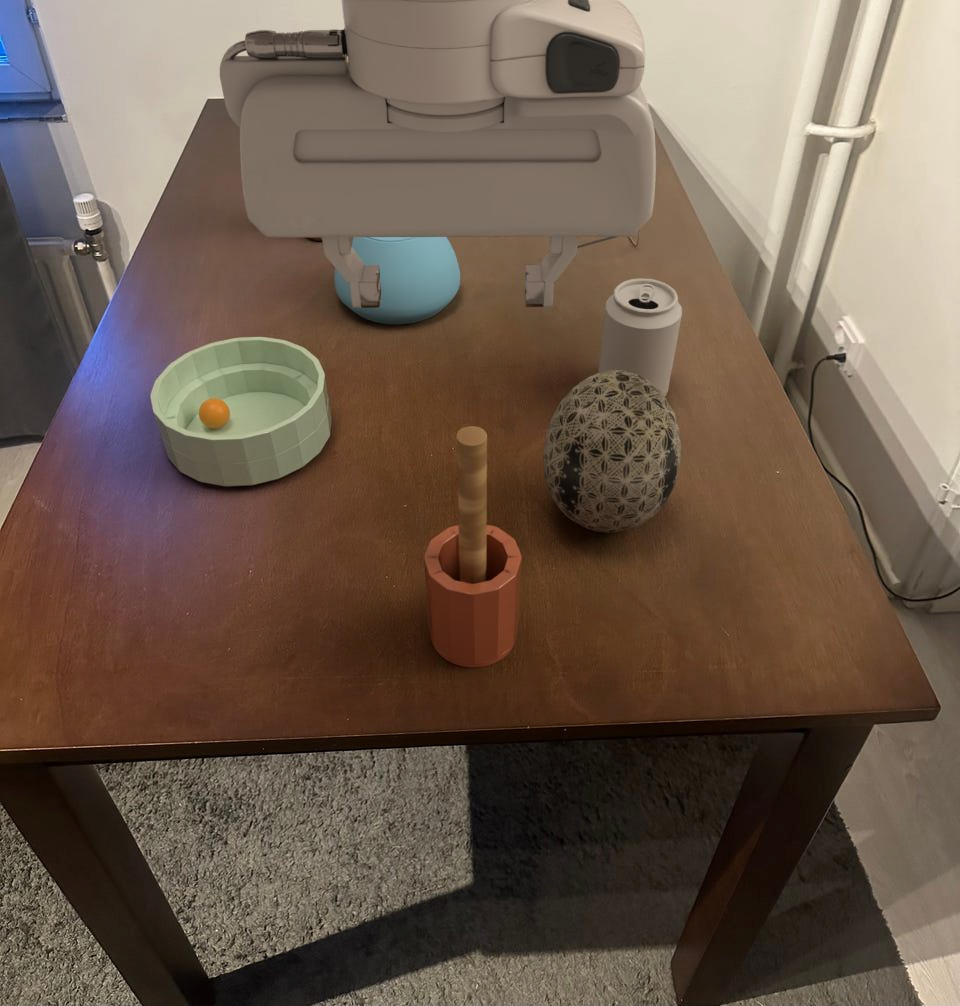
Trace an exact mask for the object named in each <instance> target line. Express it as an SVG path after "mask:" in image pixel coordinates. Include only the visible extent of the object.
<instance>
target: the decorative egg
mask: <svg viewBox="0 0 960 1006" xmlns="http://www.w3.org/2000/svg"><path fill="white" fill-rule="evenodd" d="M681 441H682V440H681V433H680V427H679V423H678V419H677V416H676V413H675V411H674V409H673V407H672V405H671V403H670V402H669V400H668V399H667V397H666V396H664V395H663V394H662V392H661V391H660V390H659V389H658V388H657V387H656V386H655V385H654V384H652V383H651V382H650V381H648V380H647V379H645V378H644V377H642V376H640V375H638V374H636V373H633V372H630V371H624V370H610V371H604V372H600V373H598V372H597V373H595V374H592V375H591V376H588V377H587V378H585V379H583V380H582V381H579V383H578V384H576V385H574V387H572V388H571V389H570V391H568V393H567V394H566V395H565V396H564V397H563V398H562V400H561V401H560V403H559V404H558V405H557V408H556V409H555V411H554V413H553V414H552V417H551V420H550V423H549V425H548V428H547V430H546V434H545V440H544V445H543V450H542V451H543V452H542V466H543V467H542V468H543V475H544V479H545V485H546V486H547V490H548V492H549V495H550V496H551V498H552V500H553V502H554V504H555V505H556V506H557V508H558V509H559V510H560V511H561V512H562V514H564V515H565V516H566V517H567V518H568V519H569V520H571V521H572V522H574V523H575V524H576V525H579V526H581V527H583V528H585V529H588V530H590V531H594V532H599V533H609V534H610V533H612V534H613V533H621V532H625V531H626V532H627V531H628V530H632V529H635V528H637V527H640V526H642V525H643V524H645V523H646V522H649V520H651V519H652V518H654V517H655V516H656V515H657V514H658V512H660V510H661V509H662V508H663V507H664V506H665V504H666V503H667V501H668V500H669V498H670V496H671V494H672V492H673V490H674V488H675V485H676V482H677V480H678V477H679V473H680V466H681V458H682V442H681Z"/></svg>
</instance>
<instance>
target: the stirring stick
mask: <svg viewBox="0 0 960 1006" xmlns="http://www.w3.org/2000/svg"><path fill="white" fill-rule="evenodd" d="M455 441H456V443H455V446H456V447H455V448H456V483H457V484H456V485H457V517H458V518H457V521H458V524H457V525H459V563H460V582H465V583H470V584H476V583H480V582H485V581H486V551H487V525H488V523H487V522H488V521H487V519H488V517H487V516H488V513H487V511H488V510H487V509H488V434H487V431H486V430H485V429H483V428H481V427H479V426H476V425H474V426H473V425H469V426H465V427H462V428H460V429H459V430H458V431H457V433H456V435H455Z"/></svg>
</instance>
